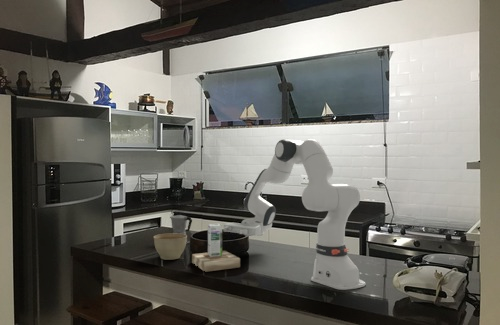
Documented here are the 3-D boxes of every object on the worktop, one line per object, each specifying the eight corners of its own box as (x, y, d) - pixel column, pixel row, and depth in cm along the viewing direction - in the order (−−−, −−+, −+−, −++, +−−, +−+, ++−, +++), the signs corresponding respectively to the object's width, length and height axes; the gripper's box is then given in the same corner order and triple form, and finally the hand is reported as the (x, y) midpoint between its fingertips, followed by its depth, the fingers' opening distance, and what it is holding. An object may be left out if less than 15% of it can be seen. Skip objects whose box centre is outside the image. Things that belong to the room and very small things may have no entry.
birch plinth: (240, 267, 189) (240, 257, 189) (204, 271, 181) (204, 261, 181) (225, 258, 204) (225, 250, 204) (192, 262, 196) (192, 253, 196)
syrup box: (210, 257, 189) (210, 225, 189) (207, 254, 195) (207, 223, 194) (222, 256, 191) (222, 225, 190) (219, 253, 196) (219, 222, 196)
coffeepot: (164, 243, 239) (164, 212, 239) (175, 240, 247) (175, 210, 247) (186, 246, 232) (186, 213, 232) (196, 243, 240) (196, 211, 240)
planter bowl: (193, 256, 207) (193, 235, 207) (170, 263, 194) (170, 240, 194) (170, 252, 216) (170, 231, 216) (146, 258, 203) (146, 236, 203)
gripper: (233, 219, 219) (215, 222, 208) (265, 223, 206) (248, 226, 195) (233, 230, 219) (215, 234, 208) (265, 235, 207) (248, 240, 196)
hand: (231, 231), depth 202 cm, fingers open, 8 cm apart
